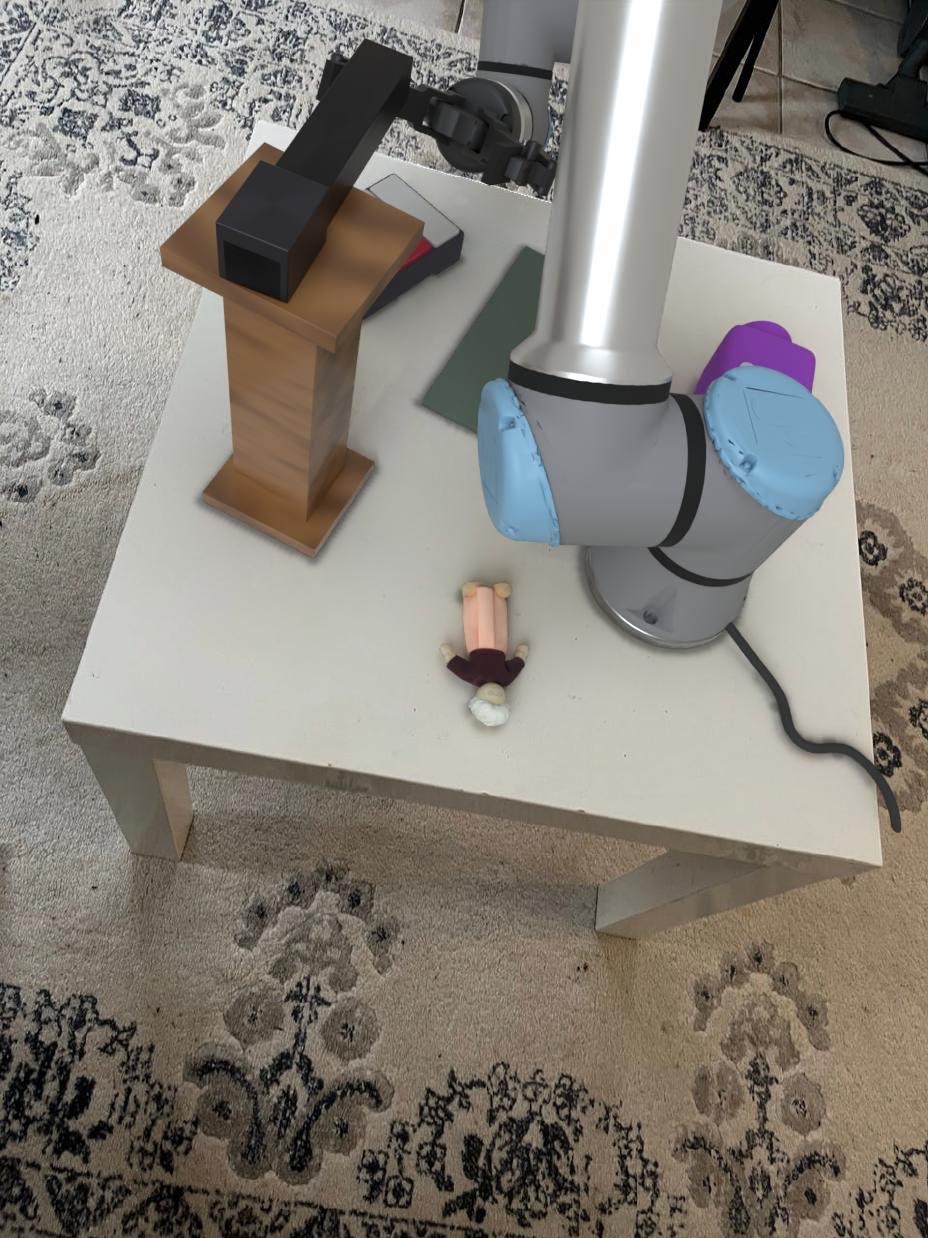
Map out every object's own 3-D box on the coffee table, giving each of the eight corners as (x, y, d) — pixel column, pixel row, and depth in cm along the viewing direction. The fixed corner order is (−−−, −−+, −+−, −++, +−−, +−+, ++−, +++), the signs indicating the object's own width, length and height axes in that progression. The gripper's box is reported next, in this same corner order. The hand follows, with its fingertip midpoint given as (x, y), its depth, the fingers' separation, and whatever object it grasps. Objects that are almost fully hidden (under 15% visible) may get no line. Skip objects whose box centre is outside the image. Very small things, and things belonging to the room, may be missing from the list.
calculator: (286, 227, 89) (394, 164, 95) (287, 260, 93) (391, 198, 99) (362, 295, 87) (467, 227, 93) (359, 326, 91) (461, 258, 97)
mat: (524, 249, 100) (525, 245, 99) (612, 293, 99) (614, 289, 99) (421, 404, 87) (422, 400, 87) (521, 455, 87) (522, 452, 87)
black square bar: (355, 77, 64) (360, 19, 60) (413, 100, 64) (421, 44, 60) (218, 276, 53) (214, 221, 50) (287, 304, 53) (288, 251, 50)
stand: (267, 411, 84) (264, 140, 59) (380, 469, 83) (425, 221, 59) (194, 503, 78) (158, 246, 53) (316, 566, 78) (336, 336, 53)
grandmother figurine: (525, 576, 77) (541, 713, 71) (521, 598, 80) (536, 731, 74) (436, 579, 76) (444, 718, 70) (435, 601, 80) (443, 736, 74)
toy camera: (774, 375, 98) (823, 308, 90) (781, 476, 92) (834, 415, 83) (681, 354, 97) (722, 284, 88) (682, 455, 91) (726, 391, 82)
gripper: (585, 227, 84) (540, 250, 66) (351, 110, 85) (244, 102, 67) (622, 143, 80) (585, 144, 62) (376, 22, 81) (270, -12, 63)
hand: (408, 122), depth 64 cm, fingers open, 13 cm apart
